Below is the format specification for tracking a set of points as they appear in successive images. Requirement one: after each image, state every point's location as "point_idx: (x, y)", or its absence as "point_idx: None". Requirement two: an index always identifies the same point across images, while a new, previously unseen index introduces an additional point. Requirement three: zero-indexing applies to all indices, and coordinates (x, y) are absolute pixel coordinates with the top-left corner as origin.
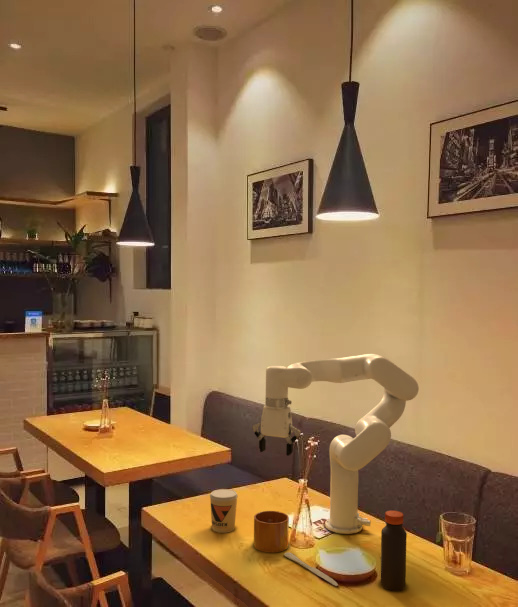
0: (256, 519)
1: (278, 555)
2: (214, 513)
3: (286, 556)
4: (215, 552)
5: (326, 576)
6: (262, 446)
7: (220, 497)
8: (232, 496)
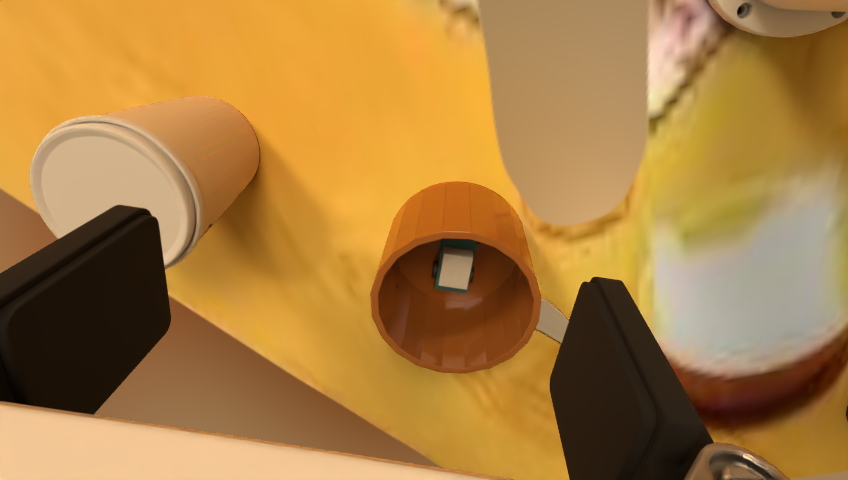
0: (396, 347)
1: None
2: None
3: None
4: (294, 341)
5: None
6: (120, 366)
7: None
8: (185, 241)
